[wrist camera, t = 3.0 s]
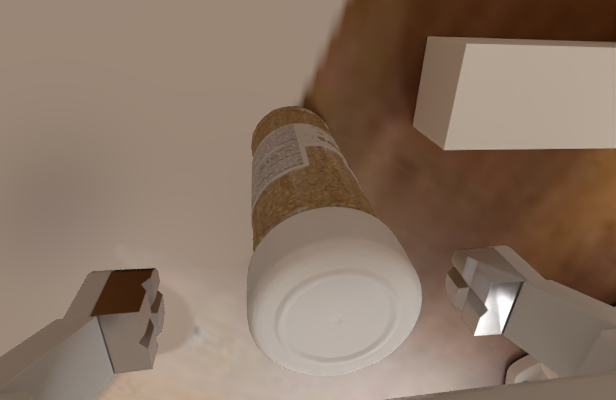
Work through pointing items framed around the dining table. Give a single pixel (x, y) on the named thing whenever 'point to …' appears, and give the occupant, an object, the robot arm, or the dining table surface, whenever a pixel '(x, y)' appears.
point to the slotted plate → (517, 94)
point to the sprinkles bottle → (321, 255)
